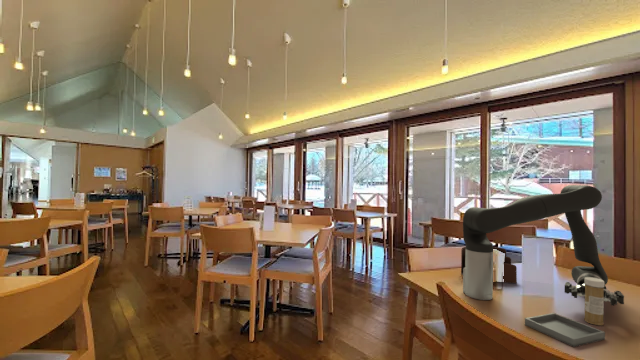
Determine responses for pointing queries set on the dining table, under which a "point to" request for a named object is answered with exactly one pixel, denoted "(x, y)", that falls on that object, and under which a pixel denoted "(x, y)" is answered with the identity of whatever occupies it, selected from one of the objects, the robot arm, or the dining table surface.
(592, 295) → the sprinkles bottle
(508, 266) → the letter holder
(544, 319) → the condiment tray
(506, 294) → the dining table surface
